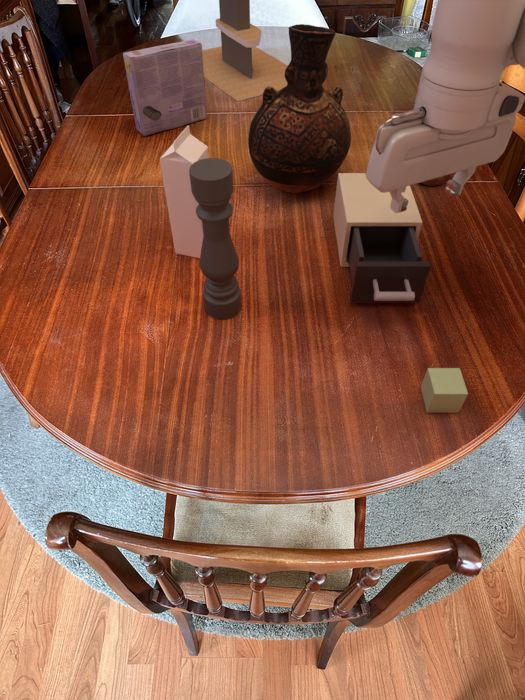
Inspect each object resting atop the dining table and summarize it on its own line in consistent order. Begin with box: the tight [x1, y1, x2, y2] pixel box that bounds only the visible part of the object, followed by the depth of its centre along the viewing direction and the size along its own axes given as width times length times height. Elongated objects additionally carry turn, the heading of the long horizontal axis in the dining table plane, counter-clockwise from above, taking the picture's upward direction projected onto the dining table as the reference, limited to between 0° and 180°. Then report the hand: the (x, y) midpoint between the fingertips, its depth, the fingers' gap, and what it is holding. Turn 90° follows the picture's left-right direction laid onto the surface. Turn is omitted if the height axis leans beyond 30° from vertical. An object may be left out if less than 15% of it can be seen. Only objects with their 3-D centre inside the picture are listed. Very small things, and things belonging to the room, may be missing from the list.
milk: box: [159, 125, 210, 259], centre depth 87 cm, size 6×6×22 cm
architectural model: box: [202, 0, 289, 102], centre depth 144 cm, size 38×25×20 cm, turn 32°
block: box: [420, 367, 469, 414], centre depth 71 cm, size 4×4×4 cm
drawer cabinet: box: [332, 172, 423, 268], centre depth 93 cm, size 16×13×10 cm
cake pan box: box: [122, 38, 208, 137], centre depth 122 cm, size 19×5×18 cm, turn 123°
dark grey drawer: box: [347, 226, 431, 304], centre depth 85 cm, size 19×11×8 cm, turn 0°
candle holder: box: [189, 157, 242, 320], centre depth 76 cm, size 6×6×25 cm
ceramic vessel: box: [247, 23, 352, 194], centre depth 99 cm, size 21×18×30 cm
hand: (425, 201), depth 71 cm, fingers open, 8 cm apart
